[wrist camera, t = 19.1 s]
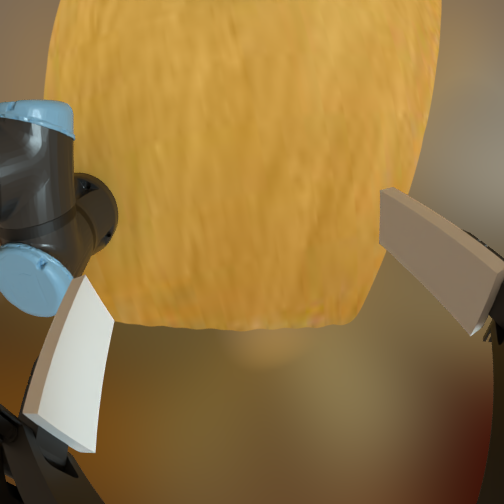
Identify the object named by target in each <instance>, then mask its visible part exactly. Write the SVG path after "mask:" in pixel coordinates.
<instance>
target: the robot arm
mask: <svg viewBox="0 0 504 504" xmlns="http://www.w3.org/2000/svg"><path fill="white" fill-rule="evenodd" d="M73 141H75V135H74V134H73V111H72V108H71V107H70V106H69V105H68V104H66V103H64V102H61V101H54V100H20V101H16V102H3V103H0V245H1V246H0V291H1V293H2V294H3V295H4V296H5V297H6V299H7V300H8V301H10V302H11V303H12V304H13V305H15V306H16V307H18V308H19V309H20V310H22V311H24V312H26V313H28V314H31V315H35V316H39V317H50V316H54V315H55V317H54V320H53V322H52V324H51V327H50V330H49V332H48V334H47V337H46V339H45V342H44V345H43V347H42V350H41V353H40V355H39V356H38V358H37V359H36V361H35V362H34V365H33V368H32V371H31V376H30V377H29V380H28V385H27V387H26V390H25V394H24V397H23V401H22V405H21V409H20V413H19V417H18V418H17V417H16V416H15V415H13V414H12V413H11V412H10V411H8V410H7V409H6V408H5V407H4V406H3V405H1V404H0V504H105V503H104V502H103V500H102V499H101V498H100V496H99V495H98V494H97V492H96V491H95V489H94V488H93V487H92V485H91V484H90V482H89V481H88V479H87V478H86V476H85V475H84V473H83V472H82V470H81V468H80V467H79V465H78V463H77V462H76V460H75V459H74V457H73V456H72V455H71V454H70V453H69V452H67V450H68V446H70V447H72V448H73V449H75V450H77V451H78V452H88V453H95V451H96V436H97V435H96V434H97V424H98V413H99V405H100V398H101V390H102V383H103V377H104V371H105V365H106V359H107V354H108V349H109V343H110V338H111V334H112V329H113V325H114V319H113V318H112V317H111V315H110V314H109V312H108V310H107V309H106V307H105V306H104V304H103V303H102V301H101V300H100V298H99V296H98V295H97V293H96V292H95V290H94V288H93V287H92V285H91V283H90V282H89V280H88V278H87V277H86V275H83V276H82V274H83V272H84V270H85V267H86V265H87V263H88V261H89V259H90V257H91V256H92V255H94V254H95V253H97V252H99V251H100V250H102V249H103V248H104V247H105V246H106V245H107V244H108V243H109V241H110V240H111V238H112V236H113V234H114V232H115V230H116V227H117V223H118V208H117V204H116V201H115V198H114V196H113V194H112V193H111V191H110V190H109V188H108V187H107V186H106V185H105V184H104V183H103V182H102V181H100V180H99V179H98V178H96V177H94V176H92V175H89V174H84V173H74V160H73ZM379 244H381V245H382V246H383V247H384V248H385V249H386V250H387V251H388V252H389V253H390V254H392V255H393V256H394V257H395V258H396V259H397V260H398V261H399V262H400V263H401V264H402V265H403V266H404V267H405V268H406V269H408V270H409V271H410V272H411V273H412V274H413V275H414V276H415V277H416V278H417V279H418V280H419V281H420V282H421V283H422V284H423V285H424V286H425V287H426V288H427V289H428V290H429V291H430V292H431V293H432V294H433V295H434V297H435V298H436V299H437V300H438V301H440V303H441V304H442V305H443V306H444V307H445V308H446V309H447V310H448V311H449V312H450V314H451V315H452V316H453V317H454V318H455V319H456V320H457V321H458V322H459V323H460V325H461V326H462V327H463V328H464V329H465V330H466V331H467V333H468V334H469V335H470V336H471V335H473V334H474V333H475V332H477V331H478V330H479V329H481V328H482V327H483V325H484V323H485V321H486V319H487V317H488V315H490V316H491V318H492V321H491V323H490V325H489V327H488V329H487V331H486V333H485V335H484V337H483V341H486V339H487V337H488V335H489V334H490V333H491V337H490V339H489V342H492V352H493V373H494V393H493V395H494V396H493V417H492V428H491V436H490V444H489V451H488V458H487V463H486V468H485V474H484V477H483V482H482V486H481V490H480V494H479V497H478V501H477V504H504V258H502V257H501V256H500V255H499V254H498V253H496V252H495V251H494V250H492V249H491V248H490V247H487V245H486V244H485V243H483V242H482V241H479V239H478V238H476V237H475V236H474V235H472V234H471V233H469V232H466V231H464V230H462V229H460V228H458V227H457V226H456V225H454V224H453V223H451V222H450V221H448V220H447V219H445V218H444V217H442V216H440V215H439V214H437V213H436V212H434V211H433V210H431V209H429V208H428V207H426V206H425V205H423V204H421V203H420V202H418V201H416V200H415V199H413V198H411V197H410V196H408V195H406V194H405V193H403V192H401V191H399V190H398V189H396V188H394V187H391V188H387V189H383V190H380V234H379ZM5 475H7V476H9V477H11V478H13V479H14V481H15V483H16V486H14V485H12V484H10V483H8V482H6V479H5Z"/></svg>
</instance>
